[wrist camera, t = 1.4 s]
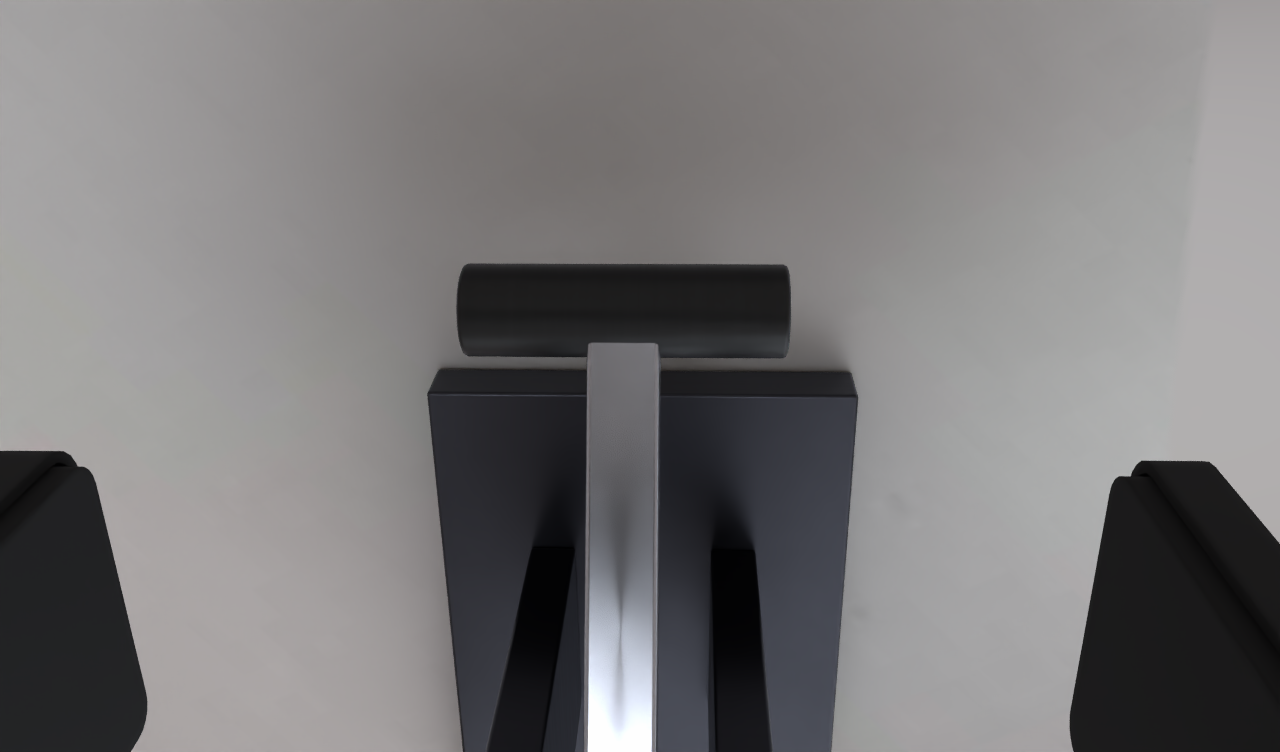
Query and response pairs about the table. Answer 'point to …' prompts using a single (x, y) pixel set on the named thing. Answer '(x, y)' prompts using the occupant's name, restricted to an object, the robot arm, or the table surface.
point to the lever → (623, 429)
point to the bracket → (688, 555)
